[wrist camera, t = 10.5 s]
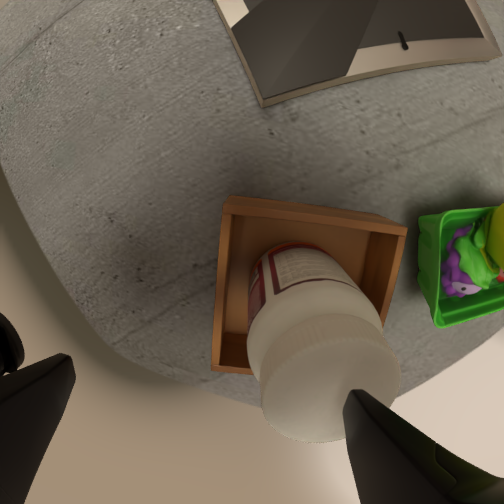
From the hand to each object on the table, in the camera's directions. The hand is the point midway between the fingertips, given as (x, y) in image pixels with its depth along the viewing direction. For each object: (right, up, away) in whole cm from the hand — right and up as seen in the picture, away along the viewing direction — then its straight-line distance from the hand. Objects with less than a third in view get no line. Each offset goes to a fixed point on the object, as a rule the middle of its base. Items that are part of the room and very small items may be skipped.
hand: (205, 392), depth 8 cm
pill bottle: (+4, +2, +12) cm, 13 cm away
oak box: (+4, +2, +12) cm, 13 cm away
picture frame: (+9, +24, +6) cm, 26 cm away
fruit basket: (+18, +5, +12) cm, 22 cm away
